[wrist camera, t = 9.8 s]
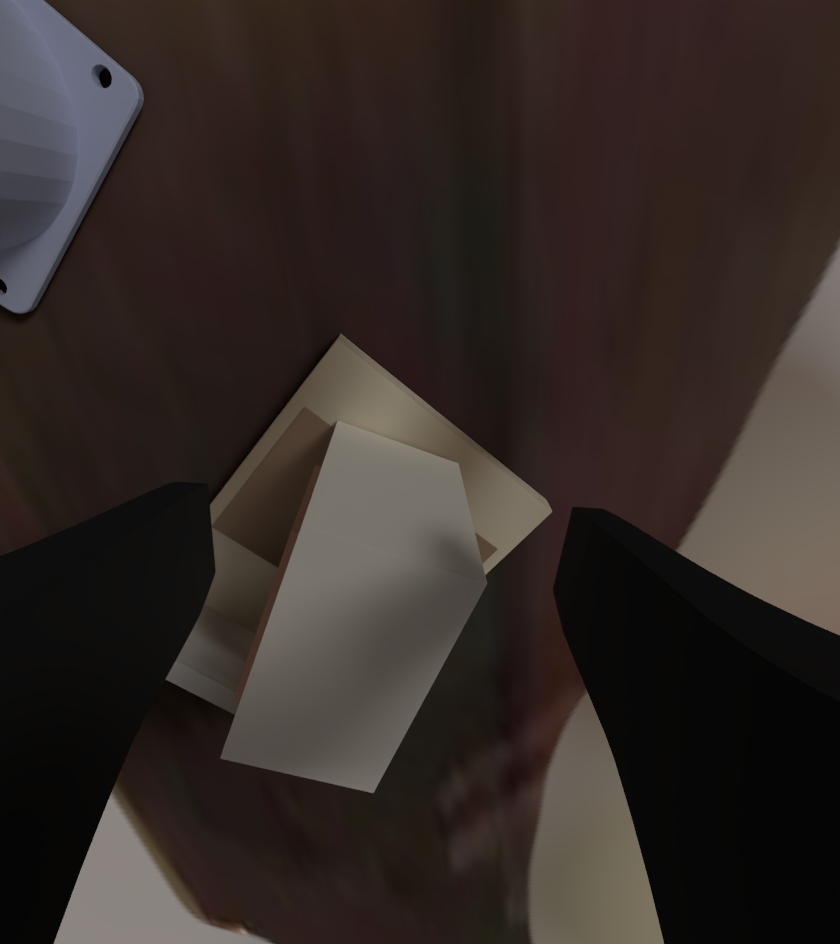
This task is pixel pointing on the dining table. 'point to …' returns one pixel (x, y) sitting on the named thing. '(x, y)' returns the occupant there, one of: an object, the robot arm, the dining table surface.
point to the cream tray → (282, 490)
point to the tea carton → (358, 613)
